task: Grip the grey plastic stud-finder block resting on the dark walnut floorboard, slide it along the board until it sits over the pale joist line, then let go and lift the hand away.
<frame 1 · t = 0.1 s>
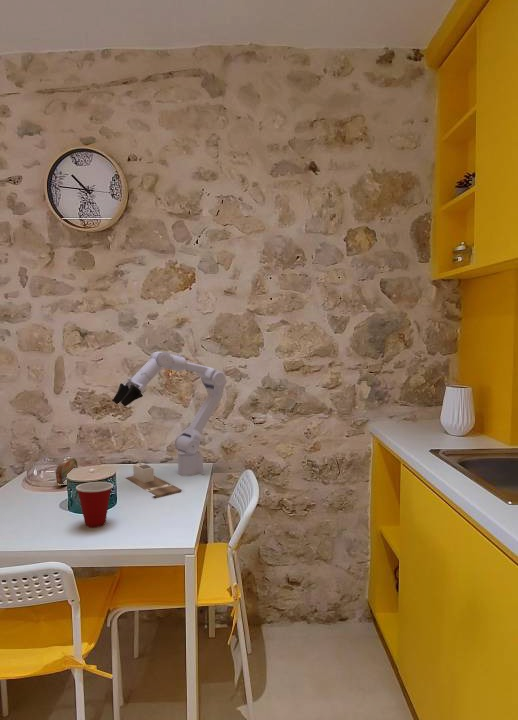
hand: (118, 403, 179), 32 cm above the table, tool tilted 50°, fingers open, 7 cm apart
plastic cup: (96, 524, 152), on the table
brown arched piece: (67, 483, 191), on the table
floorboard: (151, 486, 186), on the table
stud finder: (143, 478, 191), point 1 cm above the table, touching floorboard
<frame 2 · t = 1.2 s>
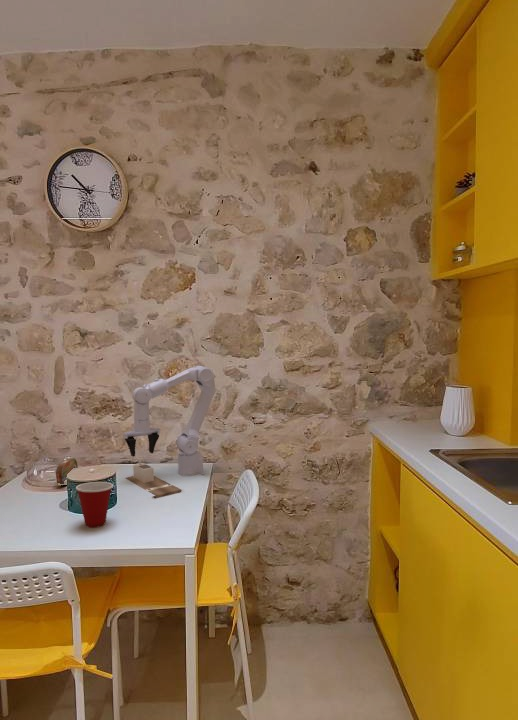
hand: (142, 454, 191), 11 cm above the table, tool pointing down, fingers open, 7 cm apart
nothing on the table moved.
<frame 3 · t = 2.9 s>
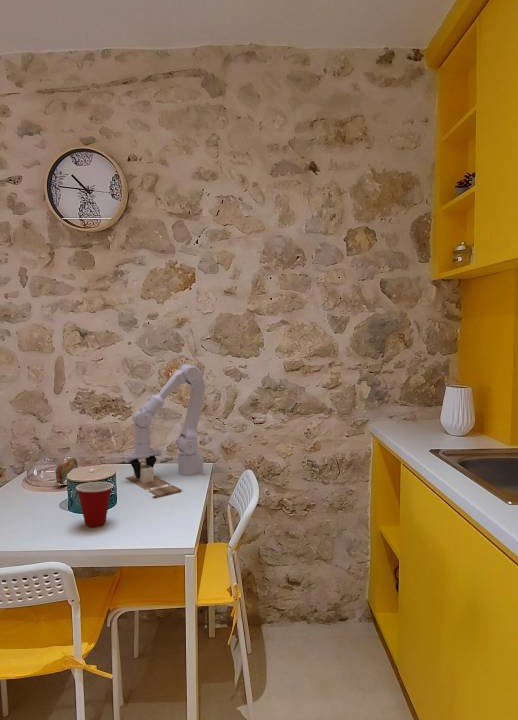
hand: (143, 477, 191), 2 cm above the table, tool pointing down, fingers closed on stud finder, 4 cm apart
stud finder: (143, 478, 191), point 1 cm above the table, touching floorboard, gripper
everything else where it was.
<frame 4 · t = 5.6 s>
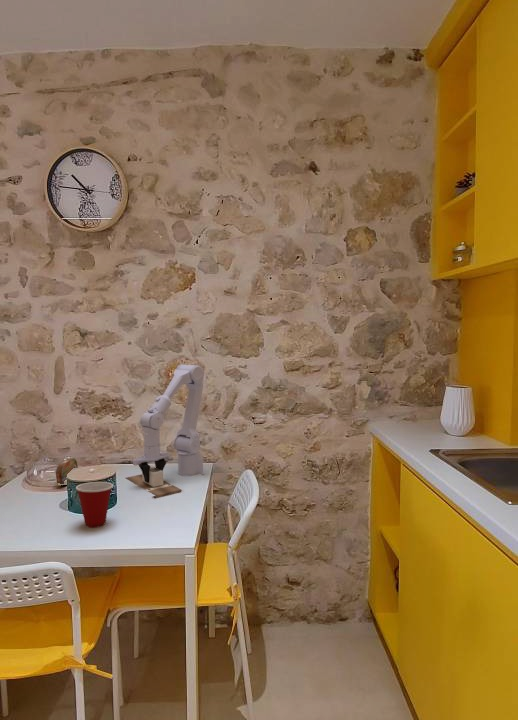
hand: (152, 480, 185), 2 cm above the table, tool pointing down, fingers closed on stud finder, 4 cm apart
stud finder: (152, 482, 185), point 1 cm above the table, touching gripper
everything else where it was.
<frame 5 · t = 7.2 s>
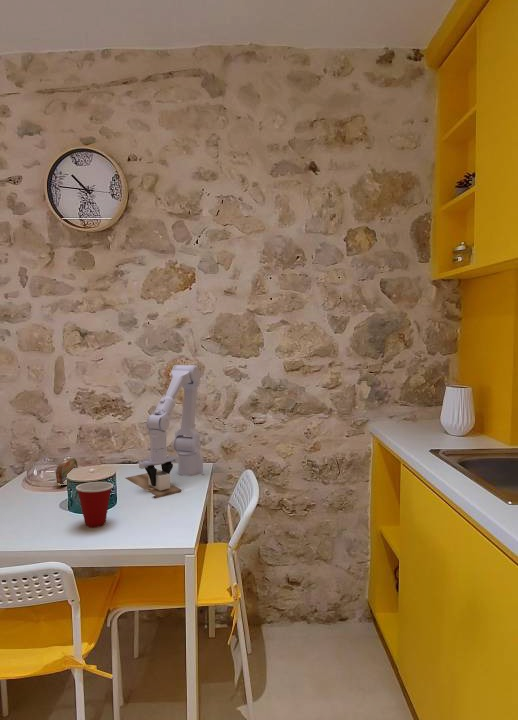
hand: (159, 484, 181), 2 cm above the table, tool pointing down, fingers closed on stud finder, 4 cm apart
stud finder: (159, 486, 181), point 1 cm above the table, touching gripper
everything else where it was.
when the fingers open (2 cm above the table, at t = 8.5 s): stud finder stays where it is, resting on floorboard.
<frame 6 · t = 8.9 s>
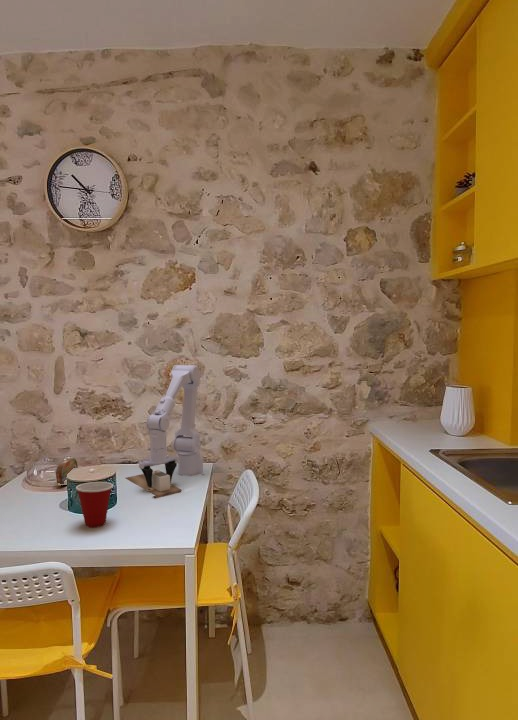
hand: (159, 484, 181), 2 cm above the table, tool pointing down, fingers open, 7 cm apart
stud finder: (159, 487, 181), point 1 cm above the table, touching floorboard
everything else where it was.
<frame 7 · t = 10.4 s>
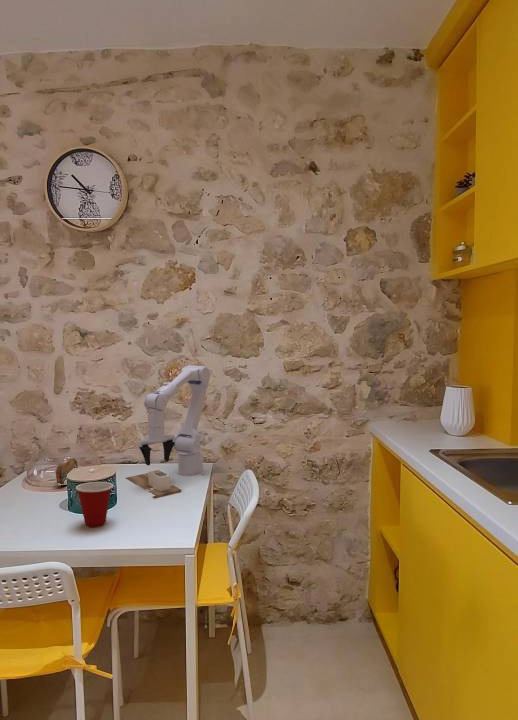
hand: (157, 462, 184), 9 cm above the table, tool pointing down, fingers open, 7 cm apart
nothing on the table moved.
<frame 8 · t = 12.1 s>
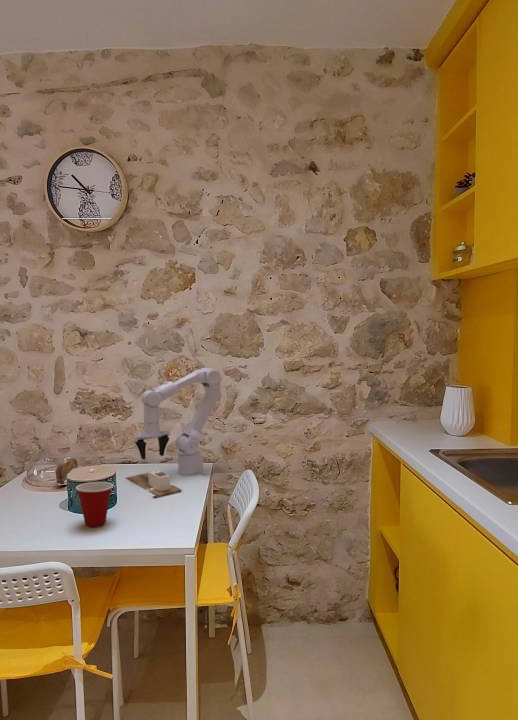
hand: (152, 457, 191), 9 cm above the table, tool pointing down, fingers open, 7 cm apart
nothing on the table moved.
at the end: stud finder 0.1 cm from the target spot on the floorboard, point 1.1 cm above the floorboard's base; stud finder tilted 0°; the gripper is holding nothing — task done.
